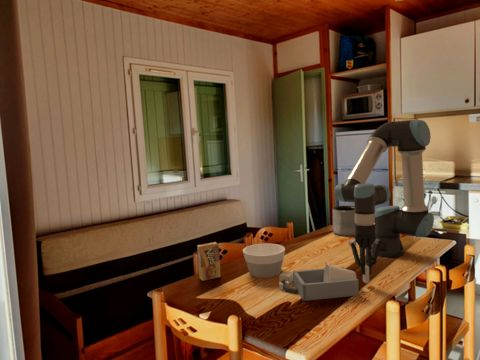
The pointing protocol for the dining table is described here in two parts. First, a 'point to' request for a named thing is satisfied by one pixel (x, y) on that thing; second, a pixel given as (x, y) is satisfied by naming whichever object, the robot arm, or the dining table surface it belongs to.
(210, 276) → the candy box
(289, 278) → the clamp and clip
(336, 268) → the cup
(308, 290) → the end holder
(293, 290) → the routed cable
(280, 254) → the bowl
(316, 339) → the dining table surface
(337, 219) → the planter
